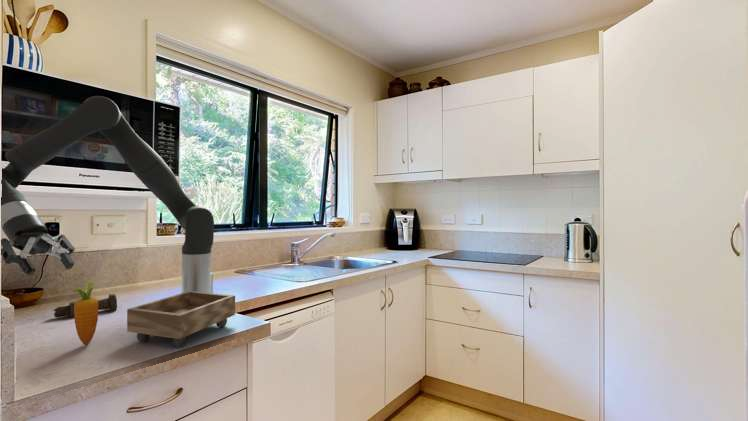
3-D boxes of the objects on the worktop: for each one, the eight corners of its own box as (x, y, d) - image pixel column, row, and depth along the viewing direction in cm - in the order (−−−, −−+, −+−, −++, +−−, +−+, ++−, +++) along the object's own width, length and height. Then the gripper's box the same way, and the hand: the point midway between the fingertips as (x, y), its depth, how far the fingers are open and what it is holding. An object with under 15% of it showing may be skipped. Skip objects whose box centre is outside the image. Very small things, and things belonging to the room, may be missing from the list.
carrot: (79, 351, 86) (79, 287, 85) (69, 346, 88) (69, 284, 88) (103, 344, 90) (103, 283, 90) (93, 340, 92) (93, 280, 92)
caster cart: (189, 319, 110) (189, 290, 110) (235, 324, 105) (235, 295, 105) (127, 343, 90) (127, 309, 90) (179, 351, 86) (179, 315, 86)
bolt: (54, 325, 109) (115, 313, 119) (55, 320, 106) (118, 308, 116) (53, 306, 111) (113, 296, 121) (53, 300, 108) (115, 291, 118)
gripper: (-8, 213, 87) (25, 264, 84) (58, 212, 101) (89, 256, 98) (-22, 234, 89) (10, 285, 86) (45, 230, 103) (75, 274, 100)
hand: (52, 269), depth 92 cm, fingers open, 8 cm apart
